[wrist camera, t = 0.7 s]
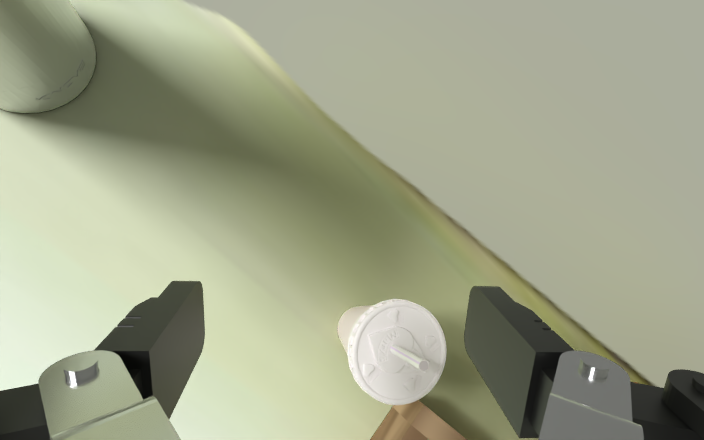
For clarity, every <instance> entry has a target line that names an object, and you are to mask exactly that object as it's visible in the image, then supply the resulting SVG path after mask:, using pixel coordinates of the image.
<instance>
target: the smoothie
mask: <svg viewBox="0 0 704 440" xmlns="http://www.w3.org/2000/svg"><path fill="white" fill-rule="evenodd" d="M337 331H338V336H339V339H340V341H341V343H342V345H343V347H344V349H345V351H346V353H347V355H348V362H349V368H350V370H351V372H352V375H353V377H354V379H355V381H356V382H357V383H358V385H359V386H360V387H361V388H362V390H363V391H365V392H366V393H368V394H369V395H370V396H371V397H373V398H374V399H376V400H378V401H380V402H382V403H385V404H390V405H405V404H409V403H412V402H415V401H417V400H419V399H421V398H422V397H424V396H425V395H426V394H427V393H429V392H430V391H431V390H432V388H433V387H434V386H435V385H436V383H437V382H438V380H439V378H440V376H441V374H442V372H443V369H444V366H445V361H446V340H445V336H444V333H443V330H442V328H441V326H440V324H439V322H438V321H437V319H436V318H435V317H434V316H433V315H432V314H431V313H430V312H429V311H428V310H427V309H425V308H424V307H422V306H420V305H418V304H416V303H413V302H411V301H408V300H404V299H390V300H385V301H381V302H379V303H377V304H375V305H367V306H355V307H352V308H350V309H348V310H347V311H345V312H344V313H343V314H342V316H341V318H340V319H339V322H338V327H337Z"/></svg>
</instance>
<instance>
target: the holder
mask: <svg viewBox="0 0 704 440" xmlns="http://www.w3.org/2000/svg"><path fill="white" fill-rule="evenodd" d="M370 440H467V439H466V438H464V437H463V436H462V435H461V434H459V433H458V432H457V431H456V430H455V429H453V428H452V427H451V426H450V425H448V424H447V423H446V422H445V421H443V420H442V419H441V418H440V417H439V416H437V415H436V414H435V413H434V412H432V411H431V410H430V409H429V408H428V407H426V406H425V405H424V404H423V403H421V402H420V401H419V400H417V401H415V402H412V403H409V404H405V405H393V407H392V408H391V410H390V411H389V413H388V414H387V416H386V417H385V419H384V420H383V422H382V423H381V425H380V426H379V428H378V429H377V430H376V432H375V433H374V435H373V436H372V438H371V439H370Z"/></svg>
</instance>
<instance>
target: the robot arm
mask: <svg viewBox="0 0 704 440" xmlns="http://www.w3.org/2000/svg"><path fill="white" fill-rule="evenodd" d="M95 65H96V50H95V46H94V41H93V39H92V37H91V35H90V33H89V31H88V29H87V27H86V26H85V24H84V23H83V21H82V20H81V18H80V17H79V15H78V14H77V12H76V11H75V9H74V8H73V6H72V5H71V3H70V2H69V0H0V109H3V110H6V111H11V112H18V113H39V112H43V111H48V110H52V109H55V108H58V107H60V106H62V105H65V104H67V103H68V102H70V101H71V100H73V99H74V98H75V97H77V96H78V95H79V94H80V93H81V92H82V91H83V90H84V89H85V88H86V86H87V85H88V83H89V81H90V79H91V78H92V76H93V72H94V69H95ZM204 337H205V326H204V305H203V288H202V284H201V282H200V281H172V282H171V283H170V284H169V285H168V287H167V288H166V289H165V290H164V291H163V292H162V294H161V295H160V296H159V297H158V298H150V299H148V300H146V301H144V302H142V303H140V304H138V305H137V306H135V307H134V308H133V309H132V310H131V311H130V312H129V313H128V315H127V316H126V318H125V319H123V320H122V321H121V322H120V323H119V324H118V327H115V328H114V329H113V331H112V332H111V333H110V334H109V335H108V336H107V337H106V338H105V339H104V340H103V341H102V342H101V343H100V344H99V345H98V347H97V348H96V349H95V350H94V351H88V352H82V353H78V354H75V355H72V356H69V357H66V358H64V359H62V360H60V361H58V362H56V363H54V364H53V365H51V366H50V367H49V368H47V369H46V370H45V371H44V372H43V373H42V375H41V376H40V378H39V384H34V385H30V386H24V387H19V388H14V389H8V390H3V391H0V440H181V439H180V438H179V436H178V434H177V432H176V431H175V429H174V427H173V426H172V424H171V422H170V421H169V419H170V417H171V415H172V413H173V410H174V408H175V406H176V404H177V402H178V400H179V398H180V396H181V394H182V392H183V390H184V388H185V386H186V384H187V381H188V379H189V377H190V375H191V373H192V371H193V369H194V367H195V365H196V363H197V361H198V359H199V357H200V355H201V352H202V349H203V345H204ZM464 342H465V348H466V351H467V354H468V355H469V357H470V359H471V360H472V362H473V364H474V365H475V367H476V368H477V370H478V372H479V373H480V375H481V377H482V378H483V380H484V381H485V383H486V385H487V386H488V388H489V390H490V391H491V393H492V394H493V396H494V398H495V399H496V401H497V403H498V404H499V406H500V408H501V409H502V411H503V412H504V414H505V416H506V417H507V419H508V421H509V422H510V424H511V425H512V427H513V429H514V430H515V432H516V434H517V435H518V437H519V438H539V439H538V440H704V374H703V373H699V372H696V371H690V370H673V371H671V372H669V374H668V377H667V380H666V383H665V387H664V388H660V387H655V386H649V385H644V384H639V383H634V382H630V377H629V375H628V374H627V372H626V371H625V370H624V369H623V368H621V367H620V366H619V365H617V364H616V363H614V362H612V361H611V360H609V359H607V358H604V357H602V356H599V355H596V354H593V353H589V352H584V351H575V350H573V349H572V348H571V347H570V346H569V345H568V344H567V343H566V342H565V341H564V340H563V339H562V338H561V337H560V336H559V335H557V334H556V333H555V332H554V331H553V330H551V328H550V327H549V326H548V325H547V324H546V323H545V322H542V320H541V319H540V318H539V317H538V316H537V315H536V314H535V313H534V312H533V311H532V310H530V309H528V308H526V307H524V306H522V305H520V304H519V303H516V302H515V301H513V300H512V299H511V298H510V297H509V296H508V295H507V294H506V293H505V292H504V291H503V290H502V289H501V288H500V287H492V286H474V287H473V288H472V289H471V292H470V296H469V303H468V310H467V318H466V325H465V332H464Z"/></svg>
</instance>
